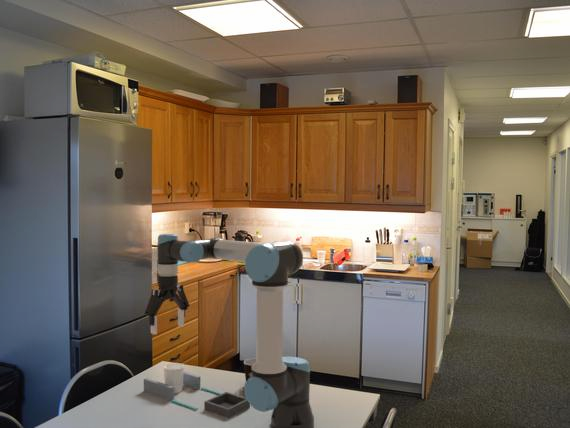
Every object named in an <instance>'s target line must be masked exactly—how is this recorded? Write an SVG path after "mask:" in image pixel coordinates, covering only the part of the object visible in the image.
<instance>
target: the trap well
mask: <svg viewBox="0 0 570 428" xmlns="http://www.w3.org/2000/svg"><path fill="white" fill-rule="evenodd" d="M221 393H222V392H221ZM203 403H204V404H203V405H204V407H203V408H204V410H205V411H207V412H211V413H213V414H216V415H219V416H222V417H224V418H228V419H230V418H231V417H233V416H235V415H237V414H239V413H241V412H243V411H244V410H247V409H249V408H250V407H251V405H250V403H249V402H248V401H247V399H246V396H245V397H244V396H241V395H239V394H235V393H231V392H228V391H225V392H223V393H222V394H220V395H218V394H217V395H215V396H213V397H211V398H210V399H207V400H205V401H204V402H203Z"/></svg>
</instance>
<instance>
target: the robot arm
mask: <svg viewBox="0 0 570 428" xmlns="http://www.w3.org/2000/svg"><path fill="white" fill-rule="evenodd" d="M156 246H157V274H158V275H157V286H158V289H154V288H153V289H151V293H150V294H151V295H150V298H149V300H148V303H147V306H146V309H145V311H144V316H147V317H148V321H149V326H150V334H152V335H158V316H156V315H157V313H158V312H159V310H160V309H161V307H162V305H163V304H164V302H166V301H167V300H170V299H172V300H173V301H174V303H175V304H176V306H177V307H178V308H179V309H178V308H177V327H182V328H183V327H185V317H186V310H188V308H190V303H189V301H188V298H187V295H186V293H185V289H184V285H183V284H178V283H179V275H178V274H179V262H186V263H198V262H199V261H200V260H207V259H214V260H215V259H216V260H225V261H233V262H242V263H244V268H245V272H246V274H247V275H248V278H249V279H250V280H251V285H252V287H253V288H254V289H255V290H256V324H255V325H256V329H255V330H256V331H255V333H256V335H255V337H256V338H255V339H256V340H255V341H256V342H255V344H256V347H255V348H256V349H255V350H256V351H255V359H256V362H255V363H254V364H253V365H252V372H251V378H249V379H248V380H247V381H246V380H245V383H244V386H243V390H244V396H245V398H246V399H247V401H248V402H249V403H250V407H252V409H254V410H256V411H258V412H261V413H262V412H263V413H265V412H266V413H267V412H270V411H271V410H272V414H271V416H270V425H271V427H272V428H314V426H315V416H314V414H313V411H312V407H311V404H310V389H311V388H310V382H311V380H310V379H311V378H310V377H311V369H310V362H309V361H308V360H307V359H305V358H301V357H297V356H283V343H284V342H283V339H284V337H283V333H284V332H283V331H284V330H283V329H284V327H283V326H284V325H283V324H284V319H283V317H284V316H283V313H284V311H283V310H284V290H285V288H287V287H288V285H289V283H288V281H289V280H288V279H289V276H291V275H293V274H295V273H297V272H298V271H299V270H300V269H301V267H302V265H303V263H304V255H303V251H302V249H301V248H300V247H299V245H298V244H296V243H295V242H293V241H289V240H283V241H273V242H266V243H265V242H264V243H263V242H262V243H261V242H252V241H242V240H241V241H240V240H232V239H231V240H230V239H229V240H228V239H222V238H220V237H211V238H204V239H195V240H179V236H178V234H175V233H161V234H159V235H158V237H157V245H156Z"/></svg>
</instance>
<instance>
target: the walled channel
mask: <svg viewBox="0 0 570 428" xmlns="http://www.w3.org/2000/svg"><path fill="white" fill-rule="evenodd" d="M183 386H186V387H190V388H192V389H195V390H199V389H201V376H200V375H197V374H194V373H190V372H187V371H184V374H183ZM143 392H144V393H148V394H151V395H152V396H153V395H154V396H157V397H159V398H162V399H165V400H168V401H171V402H172V400H175V399H174V398H175V396H174V394H175V393H174V387H173V386H170V385H167V384H165V382H164V383H163V382H162V381H161V382H160V381H157V380H155V379H151V378H149V377H145V378H143Z"/></svg>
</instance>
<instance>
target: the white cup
mask: <svg viewBox="0 0 570 428" xmlns="http://www.w3.org/2000/svg"><path fill="white" fill-rule="evenodd" d="M163 367H164V368H163V372H164V373H163V374H164V384H167V385H170V386H173V387H174V394H177V393H181V392H182V391H183V389H184V387H183V386H184V385H183V374H184V372H185V370H184V368H185V365H184V364H183V363H179V362H170V363H167V364H165V365H164V366H163Z"/></svg>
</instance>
